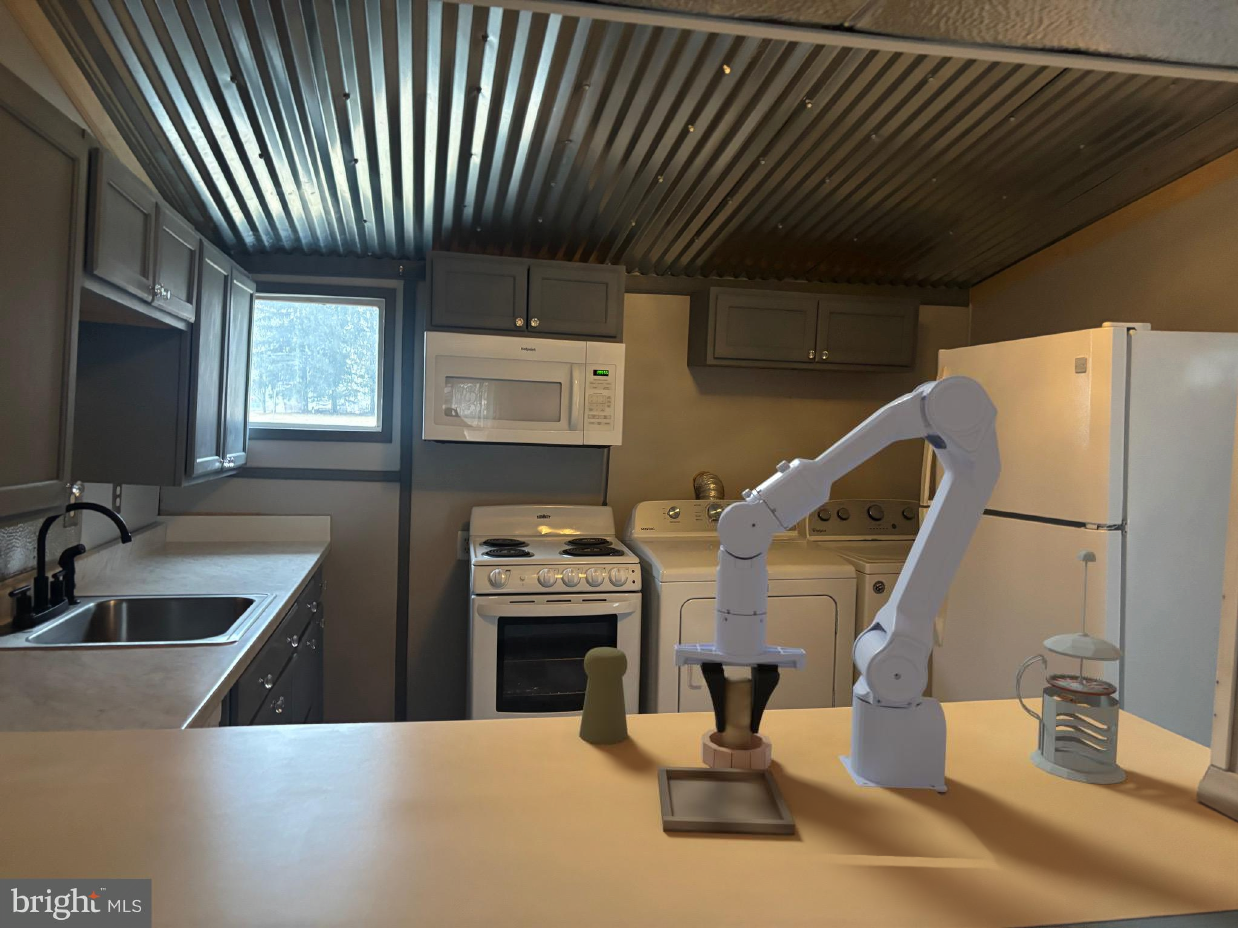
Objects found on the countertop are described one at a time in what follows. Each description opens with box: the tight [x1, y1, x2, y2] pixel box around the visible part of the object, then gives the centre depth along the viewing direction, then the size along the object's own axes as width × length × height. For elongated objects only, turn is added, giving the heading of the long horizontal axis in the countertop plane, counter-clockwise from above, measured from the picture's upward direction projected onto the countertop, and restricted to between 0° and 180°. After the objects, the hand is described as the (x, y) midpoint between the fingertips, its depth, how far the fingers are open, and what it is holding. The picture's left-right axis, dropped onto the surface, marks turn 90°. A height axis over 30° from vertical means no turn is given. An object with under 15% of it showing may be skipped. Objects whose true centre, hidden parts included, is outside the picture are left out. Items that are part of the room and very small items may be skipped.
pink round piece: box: [700, 728, 773, 770], centre depth 91 cm, size 8×8×3 cm
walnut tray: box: [657, 765, 796, 837], centre depth 80 cm, size 12×12×2 cm
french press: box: [1014, 550, 1127, 785], centre depth 93 cm, size 10×12×25 cm
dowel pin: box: [722, 675, 753, 750], centre depth 90 cm, size 3×3×9 cm
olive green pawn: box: [578, 646, 629, 746], centre depth 97 cm, size 6×6×11 cm
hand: (736, 729), depth 91 cm, fingers closed on dowel pin, 3 cm apart
